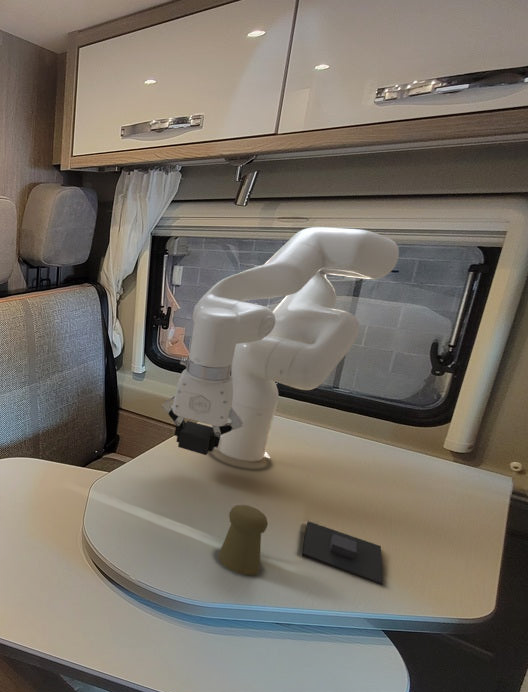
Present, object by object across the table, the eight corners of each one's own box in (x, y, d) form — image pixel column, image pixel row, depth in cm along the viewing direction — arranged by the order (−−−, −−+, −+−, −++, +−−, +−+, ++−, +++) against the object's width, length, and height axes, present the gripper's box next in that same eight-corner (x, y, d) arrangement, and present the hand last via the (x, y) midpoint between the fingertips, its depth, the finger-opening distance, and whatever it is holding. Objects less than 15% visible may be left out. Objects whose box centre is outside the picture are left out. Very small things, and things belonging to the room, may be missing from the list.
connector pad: (177, 447, 99) (180, 431, 97) (184, 435, 103) (187, 420, 101) (206, 455, 95) (209, 439, 94) (212, 443, 99) (215, 427, 98)
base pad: (301, 557, 79) (305, 546, 78) (306, 525, 85) (309, 514, 85) (380, 588, 72) (385, 576, 71) (379, 550, 79) (383, 539, 78)
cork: (252, 557, 79) (265, 503, 76) (264, 582, 74) (278, 525, 71) (213, 550, 81) (223, 496, 78) (222, 574, 76) (233, 517, 73)
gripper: (157, 366, 95) (148, 439, 102) (256, 385, 84) (238, 466, 91) (168, 354, 100) (158, 424, 107) (262, 371, 89) (245, 448, 96)
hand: (195, 443), depth 99 cm, fingers closed on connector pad, 5 cm apart
